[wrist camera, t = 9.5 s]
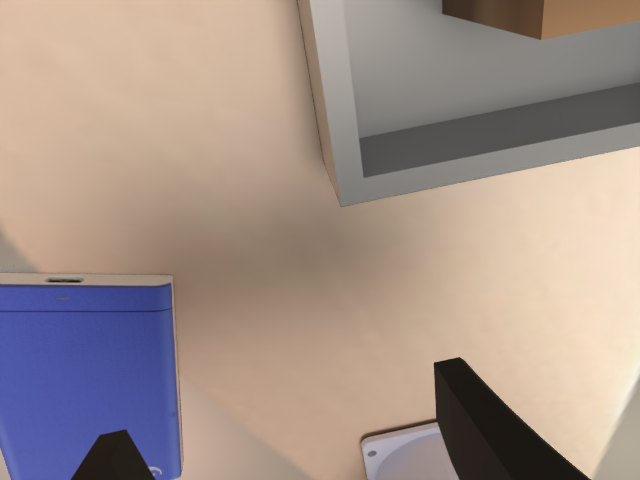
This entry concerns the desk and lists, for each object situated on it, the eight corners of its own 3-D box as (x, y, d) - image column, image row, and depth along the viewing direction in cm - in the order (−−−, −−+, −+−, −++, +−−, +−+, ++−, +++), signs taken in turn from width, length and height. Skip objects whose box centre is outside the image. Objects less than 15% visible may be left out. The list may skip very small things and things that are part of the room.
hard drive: (181, 481, 25) (169, 289, 19) (10, 491, 23) (-61, 287, 17) (184, 454, 26) (175, 267, 20) (23, 462, 25) (-39, 264, 19)
